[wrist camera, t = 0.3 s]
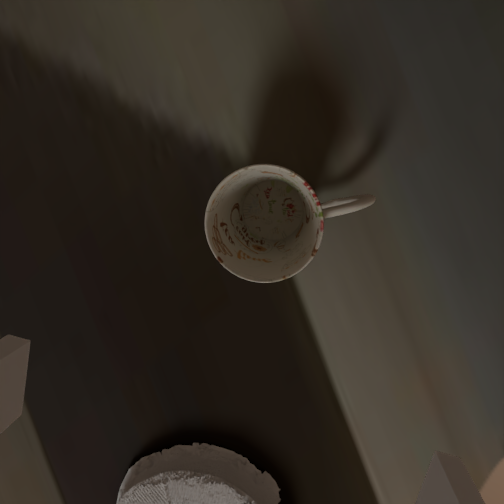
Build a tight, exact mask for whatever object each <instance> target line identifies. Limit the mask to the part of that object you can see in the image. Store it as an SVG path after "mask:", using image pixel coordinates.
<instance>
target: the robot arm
mask: <svg viewBox="0 0 504 504" xmlns="http://www.w3.org/2000/svg"><path fill="white" fill-rule="evenodd" d="M29 349H30V340H26V339H23V338H19V337H15V336H12V335H7V336H5V337H3V338H2V339H0V433H1V432H3V431H4V430H5V429H6V428H7V427H8V426H9V425H10V424H12V423H13V422H14V421H15V420H16V419H17V418H18V417H19V416H21V415H22V407H23V399H24V390H25V382H26V374H27V365H28V357H29ZM415 504H485V503H484V501H483V499H482V497H481V495H480V493H479V491H478V489H477V488H476V486H475V484H474V482H473V480H472V478H471V476H470V475H469V473H468V471H467V469H466V467H465V465H464V463H463V462H462V460H461V458H460V457H457V456H453V455H450V454H446V453H442V452H439V451H435V452H434V455H433V457H432V460H431V463H430V465H429V468H428V471H427V474H426V476H425V479H424V482H423V484H422V487H421V490H420V492H419V495H418V498H417V501H416V503H415Z"/></svg>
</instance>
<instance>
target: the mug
mask: <svg viewBox="0 0 504 504" xmlns="http://www.w3.org/2000/svg"><path fill="white" fill-rule="evenodd" d="M375 201H376V198H375V196H373V195H369V194H364V195H356V196H351V197H346V198H338V199H334V200H331V201H327V202H324V203H321V204H320V201H319V199H318V197H317V195H316V193H315V191H314V190H313V188H312V187H311V186H310V185H309V184H308V182H307V181H306V180H305V179H303V178H302V177H301V176H300V175H298V174H297V173H295V172H294V171H292V170H290V169H288V168H285V167H282V166H279V165H274V164H254V165H250V166H246V167H243V168H241V169H238V170H236V171H234V172H233V173H231V174H230V175H228V176H227V177H226V178H225V179H224V180H222V181H221V183H220V184H219V185H218V186H217V187H216V189H215V190H214V192H213V193H212V195H211V197H210V199H209V202H208V205H207V208H206V213H205V232H206V237H207V241H208V244H209V246H210V248H211V250H212V252H213V254H214V255H215V257H216V258H217V260H218V261H219V262H220V263H221V264H222V265H223V266H224V267H225V268H226V269H227V270H229V271H230V272H231V273H233V274H235V275H236V276H238V277H240V278H243V279H245V280H249V281H253V282H260V283H270V282H277V281H281V280H284V279H287V278H289V277H291V276H293V275H295V274H297V273H298V272H300V271H301V270H302V269H303V268H305V267H306V266H307V265H308V264H309V262H310V261H311V260H312V259H313V257H314V256H315V254H316V252H317V251H318V249H319V246H320V244H321V241H322V237H323V232H324V219H325V218H329V217H334V216H338V215H343V214H347V213H351V212H354V211H358V210H361V209H363V208H366V207H368V206H370V205H372V204H373V203H374V202H375Z"/></svg>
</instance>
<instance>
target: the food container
mask: <svg viewBox="0 0 504 504" xmlns="http://www.w3.org/2000/svg"><path fill="white" fill-rule="evenodd" d="M280 490H281V489H279V488H278V486H277V483H276V481H275V480H274V479H273V478H272V477H271V475H270V474H268V473H267V472H266V471H265V472H264V473H263V474H262V473H261V471H260V470H258V469H256V467H255V466H254V465H253V464H250V462H249V460H248V459H247V458H245V457H242V455H239V454H236V453H235V452H234V451H231V450H227V449H225V448H221V447H218V446H214V445H211V446H210V445H209V444H206V443H202V444H201V445H199V443H193V446H190V445H184V446H183V445H177V446H174V447H171V448H170V449H163V450H162V455H161V453H160V452H157V453H153V454H151V455H149V456H145V457H142V458H141V460H140V461H138V462H136V463H135V465H134V466H132V467H131V468H130V469H128V472H127V474H126V476H125V478H124V480H123V482H122V484H121V487H120V490H119V494H118V500H117V504H278V503H279V502H280V500H281V499H280V498H279V492H278V491H280Z"/></svg>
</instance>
